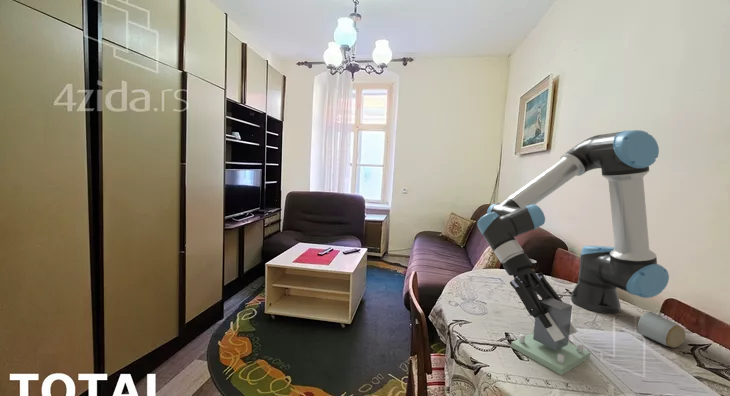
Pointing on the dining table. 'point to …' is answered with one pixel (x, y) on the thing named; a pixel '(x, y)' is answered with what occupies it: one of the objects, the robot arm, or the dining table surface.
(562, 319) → the block
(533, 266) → the coffee mug
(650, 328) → the grey cylinder
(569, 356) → the pin plate
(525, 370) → the dining table surface
